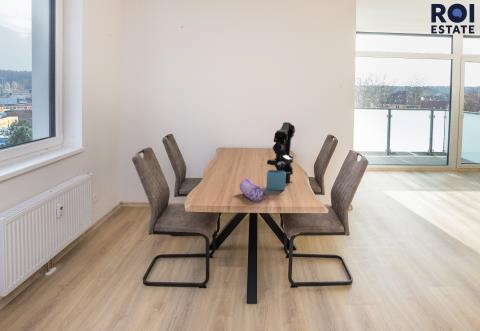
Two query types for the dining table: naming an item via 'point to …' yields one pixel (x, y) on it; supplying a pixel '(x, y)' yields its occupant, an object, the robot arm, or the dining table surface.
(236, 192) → the dining table surface
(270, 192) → the felt mat
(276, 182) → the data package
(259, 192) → the pencil case
